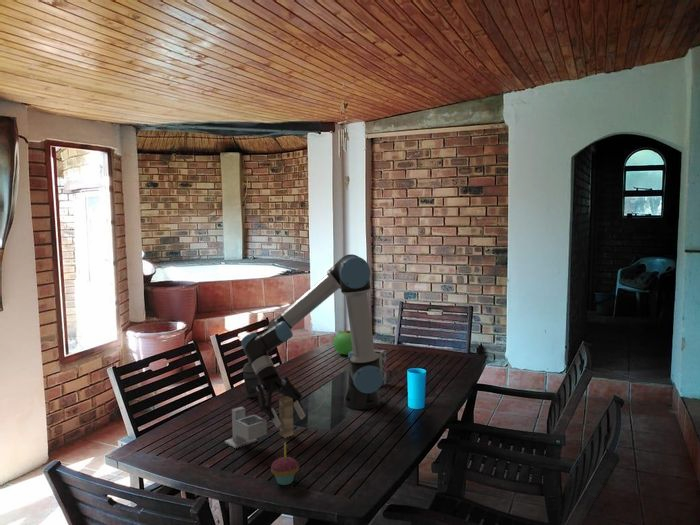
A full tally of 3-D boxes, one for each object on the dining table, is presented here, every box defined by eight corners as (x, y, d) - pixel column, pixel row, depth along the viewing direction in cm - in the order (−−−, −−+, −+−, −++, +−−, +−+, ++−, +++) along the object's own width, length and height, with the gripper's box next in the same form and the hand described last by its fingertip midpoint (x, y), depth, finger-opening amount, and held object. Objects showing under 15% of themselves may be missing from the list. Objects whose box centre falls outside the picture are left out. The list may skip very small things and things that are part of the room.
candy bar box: (386, 383, 253) (386, 349, 251) (383, 386, 248) (383, 352, 247) (364, 380, 257) (364, 347, 255) (361, 383, 252) (361, 350, 251)
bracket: (224, 442, 188) (223, 410, 187) (246, 435, 194) (245, 403, 193) (247, 456, 178) (246, 421, 177) (269, 447, 184) (268, 414, 183)
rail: (279, 435, 194) (279, 398, 193) (287, 432, 196) (286, 396, 195) (285, 438, 192) (285, 400, 190) (293, 435, 194) (292, 398, 193)
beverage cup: (255, 399, 232) (254, 354, 230) (240, 398, 233) (239, 354, 231) (262, 393, 239) (261, 350, 237) (246, 392, 240) (245, 349, 239)
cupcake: (272, 475, 165) (271, 437, 164) (299, 473, 166) (298, 436, 164) (270, 489, 156) (269, 450, 155) (299, 487, 157) (298, 449, 156)
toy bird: (331, 357, 299) (330, 331, 297) (336, 349, 315) (336, 325, 314) (362, 358, 296) (362, 333, 294) (366, 351, 312) (366, 326, 311)
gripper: (285, 369, 211) (310, 418, 201) (235, 382, 195) (260, 436, 186) (293, 359, 207) (319, 408, 197) (243, 371, 191) (269, 425, 181)
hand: (291, 421), depth 191 cm, fingers open, 10 cm apart
